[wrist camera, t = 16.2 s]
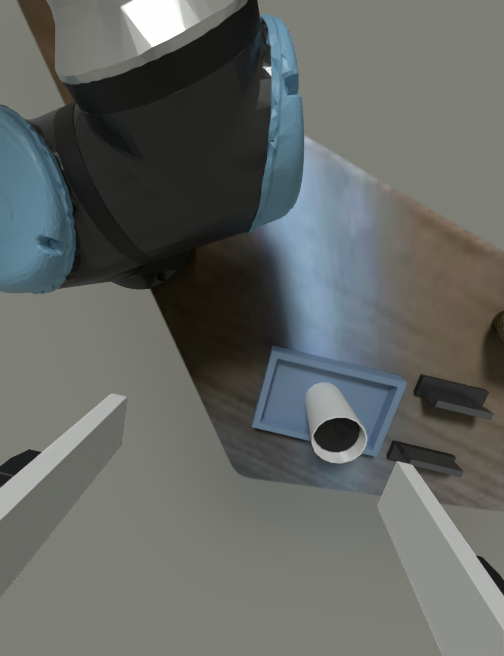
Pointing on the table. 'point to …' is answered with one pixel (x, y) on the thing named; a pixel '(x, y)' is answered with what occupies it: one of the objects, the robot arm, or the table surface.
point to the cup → (499, 324)
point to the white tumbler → (333, 424)
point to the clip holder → (445, 398)
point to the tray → (307, 370)
